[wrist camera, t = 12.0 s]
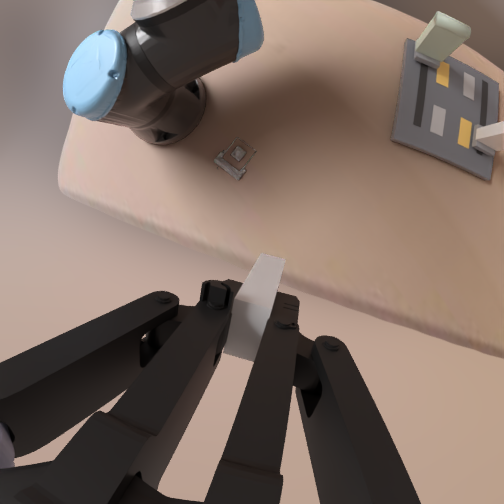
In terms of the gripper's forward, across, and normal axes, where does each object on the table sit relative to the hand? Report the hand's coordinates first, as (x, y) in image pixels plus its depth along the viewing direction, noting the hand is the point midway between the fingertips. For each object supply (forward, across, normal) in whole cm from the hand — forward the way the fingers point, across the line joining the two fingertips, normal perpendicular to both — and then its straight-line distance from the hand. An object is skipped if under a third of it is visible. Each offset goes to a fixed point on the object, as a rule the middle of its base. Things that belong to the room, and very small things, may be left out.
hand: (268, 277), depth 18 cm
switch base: (+32, +23, +25) cm, 47 cm away
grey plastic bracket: (+32, -10, +2) cm, 34 cm away
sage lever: (+30, +17, +33) cm, 47 cm away
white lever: (+29, +29, +21) cm, 47 cm away
